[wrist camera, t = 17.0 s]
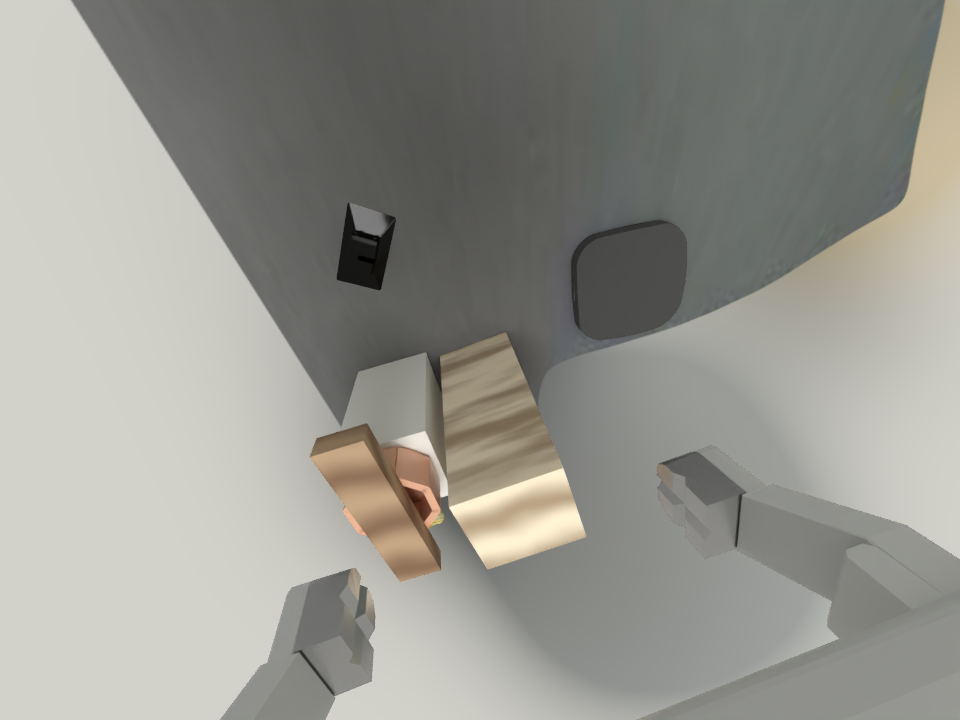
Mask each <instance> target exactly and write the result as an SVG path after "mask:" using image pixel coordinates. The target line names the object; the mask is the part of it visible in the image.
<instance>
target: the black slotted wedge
mask: <svg viewBox="0 0 960 720" xmlns="http://www.w3.org/2000/svg"><path fill="white" fill-rule="evenodd" d="M395 222H396V218H395V217H392V216H389V215H386V214H383V213H380V212H377V211H374V210H371V209H368V208H365V207H362V206H359V205H355V204H352V203H348V205H347V212H346V219H345V225H344V232H343V239H342V246H341V253H340V259H339V266H338V273H337V280H340V281H344V282H348V283H352V284H356V285H360V286H364V287H368V288H372V289H376V290H381V287H382V282H383V277H384V273H385V268H386V263H387V259H388V254H389V249H390V245H391V240H392V236H393V231H394V226H395Z"/></svg>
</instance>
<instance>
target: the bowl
mask: <svg viewBox="0 0 960 720" xmlns="http://www.w3.org/2000/svg"><path fill="white" fill-rule="evenodd" d="M382 450H383V452H384V453H385V455H386V457H387V459H388V460H389V462H390V464H391V466H392V467H393V469H394V471H395V472H396V474H397V476H398V478H399V479H400V481H401V483H402V485H403V486H404V488H405V490H406V492H407V493H408V495H409V497H410V499H411V500H412V502H413V504H414V505H415V507H416V509H417V511H418V512H419V514H420V516H421V518H422V519H423V521H424V523H425V525H426V526H427V528H429V527H430V525H431V524H432V523H433V521H434V520H435V518H436V517H437V516H438V514H439V513H440V512H441V500H440V479H439V477H438V475H437V473H436V471H435V468H434V465H433V464H432V462H431V460H430V458H429V457H427V456H425V455H423V454H422V453H420V452H418V451H416V450H413V449H409V448H404V447H389V448H383V449H382ZM343 513H344V514H345V516H346V517H347V518H348V520H349V521H350V523H351V524H352V526H353V527H354V528H355V530H356V531H357V533H359V534H361V535H365V536H367V535H366V534H365V533H364V531H363V530H362V528H361V527H360V526H359V524H358V523H357V522H356V520H355V519H354V517H353V516H352V515H351V513H350V512H349V511H348V509H347V508H346V506H345V505H344V509H343Z"/></svg>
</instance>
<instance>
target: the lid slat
mask: <svg viewBox="0 0 960 720" xmlns="http://www.w3.org/2000/svg"><path fill="white" fill-rule="evenodd" d="M310 458H311V460H312V461H313V462H314V464H315V465H316V466H317V468H318V469H319V471H320V472H321V473H322V475H323V476H324V478H325V479H326V480H327V481H328V483H329V484H330V486H331V487H332V488H333V490H334V491H335V493H336V494H337V495H338V497H339V498H340V499H341V501H342V502H343V504H344V505H345V506H346V508H347V509H348V511H349V512H350V513H351V515H352V516H353V517H354V519H355V520H356V522H357V523H358V524H359V526H360V527H361V528H362V530H363V531H364V533H365V534H366V535H367V537H368V538H369V539H370V541H371V542H372V544H373V545H374V546H375V548H376V549H377V550H378V552H379V553H380V555H381V556H382V557H383V559H384V560H385V561H386V563H387V564H388V566H389V567H390V568H391V570H392V571H393V573H394V574H395V575H396V577H397V578H398V579H399V581H400V582H401V581H404V580H408V579H411V578H415V577H418V576H421V575H425V574H429V573H432V572H435V571H439V570H441V554H440V549H439V547H438V545H437V544H436V542H435V540H434V539H433V537H432V535H431V533H430V532H429V530H428V528H427V526H426V525H425V523H424V521H423V519H422V518H421V516H420V514H419V512H418V511H417V509H416V507H415V505H414V504H413V502H412V500H411V499H410V497H409V495H408V493H407V492H406V490H405V488H404V486H403V485H402V483H401V481H400V479H399V478H398V476H397V474H396V472H395V471H394V469H393V467H392V466H391V464H390V462H389V460H388V459H387V457H386V455H385V453H384V452H383V450H382V448H381V446H380V445H379V443H378V441H377V439H376V438H375V436H374V434H373V433H372V431H371V429H370V427H369V426H368V424H367V423H366V424H362V425H359V426H356V427H353V428H349V429H346V430H343V431H340V432H336V433H333V434H330V435H327V436H323V437H320V438H317V439H316V442H315V444H314V447H313V450H312V453H311V455H310Z"/></svg>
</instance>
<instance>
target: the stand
mask: <svg viewBox="0 0 960 720" xmlns="http://www.w3.org/2000/svg"><path fill="white" fill-rule="evenodd" d="M440 365H441V382H442V399H443V415H444V432H445V449H446V466H447V482H448V497H449V508H450V510H451V511H452V513H453V515H454V516H455V518H456V519H457V521H458V522H459V524H460V526H461V527H462V529H463V531H464V532H465V534H466V535H467V537H468V539H469V540H470V542H471V543H472V545H473V547H474V548H475V550H476V551H477V553H478V555H479V556H480V558H481V560H482V561H483V563H484V564H485V566H486V568H487V569H491V568H493V567H496V566H500V565H503V564H506V563H509V562H512V561H515V560H518V559H521V558H524V557H527V556H530V555H533V554H536V553H539V552H542V551H545V550H548V549H551V548H554V547H557V546H560V545H563V544H566V543H569V542H572V541H575V540H578V539H582V538H585V537H586V534H585V531H584V528H583V525H582V522H581V519H580V516H579V513H578V511H577V508H576V505H575V502H574V499H573V496H572V493H571V490H570V487H569V484H568V481H567V478H566V475H565V472H564V469H563V467H562V464H561V462H560V460H559V457H558V455H557V452H556V450H555V448H554V445H553V443H552V440H551V438H550V435H549V433H548V431H547V429H546V426H545V424H544V421H543V419H542V417H541V414H540V412H539V409H538V407H537V405H536V402H535V400H534V397H533V395H532V393H531V390H530V388H529V386H528V383H527V381H526V379H525V376H524V374H523V371H522V369H521V367H520V364H519V362H518V360H517V357H516V355H515V352H514V350H513V348H512V345H511V343H510V341H509V338H508V336H507V333H506V332H503V333H501V334H498V335H495V336H493V337H490V338H487V339H485V340H482V341H479V342H477V343H474V344H471V345H469V346H466V347H463V348H461V349H458V350H455V351H453V352H450V353H447V354H445V355H442V356H440Z"/></svg>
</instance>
